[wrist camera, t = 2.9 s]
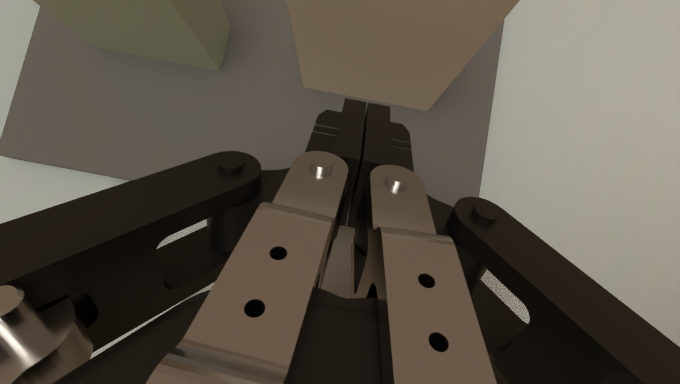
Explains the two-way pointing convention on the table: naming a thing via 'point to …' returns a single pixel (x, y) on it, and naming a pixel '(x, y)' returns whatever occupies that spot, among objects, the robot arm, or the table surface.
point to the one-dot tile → (150, 28)
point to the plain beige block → (390, 45)
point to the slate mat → (222, 106)
